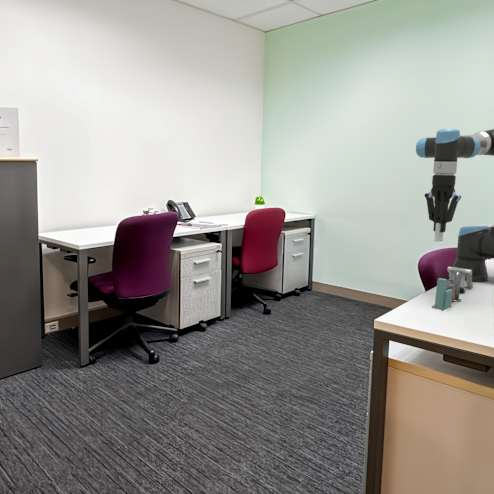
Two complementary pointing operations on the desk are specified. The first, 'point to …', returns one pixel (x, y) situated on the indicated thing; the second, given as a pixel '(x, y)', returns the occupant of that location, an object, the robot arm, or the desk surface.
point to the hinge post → (457, 281)
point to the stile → (442, 295)
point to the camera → (460, 287)
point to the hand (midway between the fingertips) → (438, 240)
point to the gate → (453, 287)
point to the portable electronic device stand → (463, 275)
